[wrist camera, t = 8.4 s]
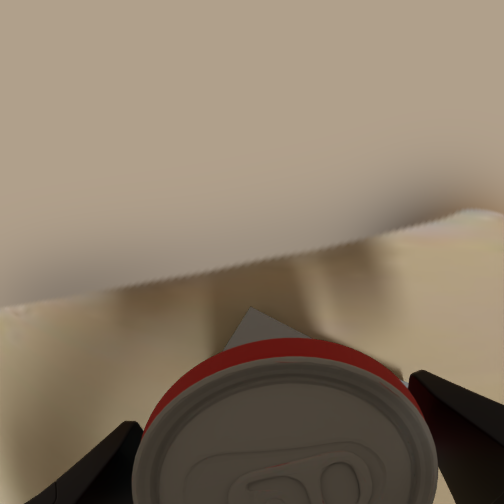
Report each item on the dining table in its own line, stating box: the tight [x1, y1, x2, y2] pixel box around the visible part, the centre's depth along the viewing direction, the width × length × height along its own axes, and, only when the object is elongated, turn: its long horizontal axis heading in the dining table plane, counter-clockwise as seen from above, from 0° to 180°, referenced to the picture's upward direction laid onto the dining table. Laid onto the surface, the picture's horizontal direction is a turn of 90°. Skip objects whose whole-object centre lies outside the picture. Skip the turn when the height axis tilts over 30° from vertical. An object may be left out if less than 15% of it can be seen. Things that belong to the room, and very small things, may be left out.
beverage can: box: [132, 338, 438, 504], centre depth 8 cm, size 7×7×12 cm
